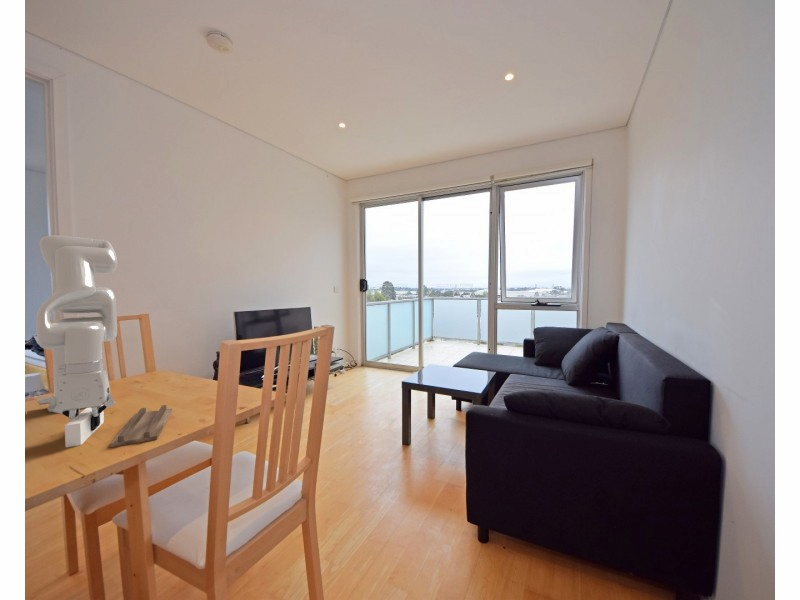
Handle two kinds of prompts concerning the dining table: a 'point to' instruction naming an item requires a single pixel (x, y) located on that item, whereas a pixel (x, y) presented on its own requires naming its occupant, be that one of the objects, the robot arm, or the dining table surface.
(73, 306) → the robot arm
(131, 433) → the walnut rack
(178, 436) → the dining table surface
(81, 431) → the white strip
